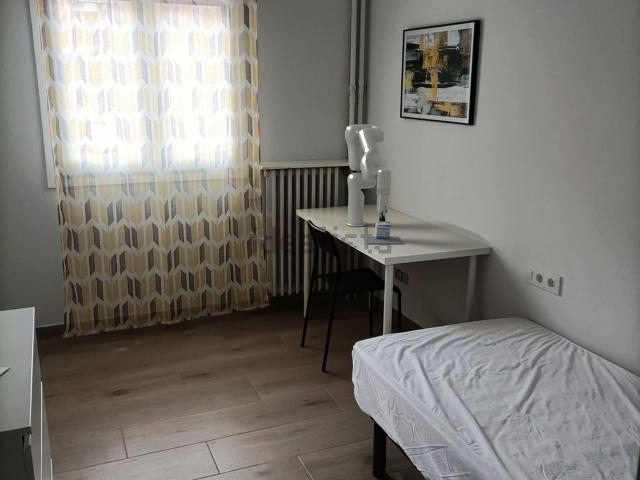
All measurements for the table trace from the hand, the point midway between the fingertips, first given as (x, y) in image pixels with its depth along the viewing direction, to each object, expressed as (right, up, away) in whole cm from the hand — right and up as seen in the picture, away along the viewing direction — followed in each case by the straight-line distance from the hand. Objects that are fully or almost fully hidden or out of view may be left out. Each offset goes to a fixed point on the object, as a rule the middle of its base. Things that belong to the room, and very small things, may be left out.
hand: (382, 224), depth 334 cm
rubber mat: (0, -9, -4) cm, 10 cm away
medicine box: (0, -7, 0) cm, 7 cm away
